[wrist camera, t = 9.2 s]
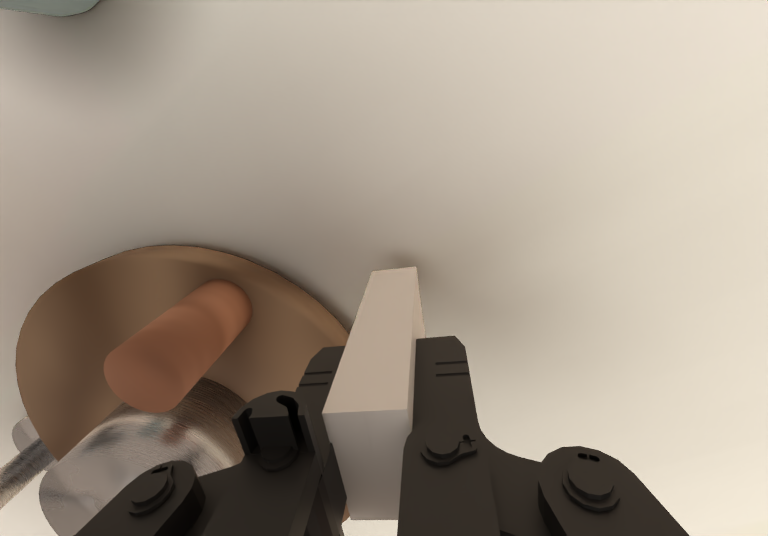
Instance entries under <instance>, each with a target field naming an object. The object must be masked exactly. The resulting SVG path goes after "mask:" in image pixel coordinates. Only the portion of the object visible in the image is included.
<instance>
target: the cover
mask: <svg viewBox="0 0 768 536" xmlns="http://www.w3.org/2000/svg"><path fill="white" fill-rule="evenodd" d="M245 404H247V403H246V402H245V401H244V400H243V399H242V398H241V397H240V396H238V395H237V394H236V393H234V392H233V391H231V390H230V389H228V388H227V387H225V386H223V385H221V384H219V383H217V382H215V381H212V380H210V379H207V378H204V377H201V378H200V379H199V381H198V382H197V383H196V384H195V385H194V386H193V387H192V389H191V390H190V391H189V392H188V393H187V394H186V395H185V397H184V398H183V399H182V400H181V401H180V402H179V403H178V405H177V406H175V407H174V408H173V409H171V410H169V411H166V412H161V413H151V412H145V411H142V410H139V409H136V408H134V407H132V406H130V405H128V404H127V403H125V402H124V401H123V402H122V403H121V404H120V405H119V406H118V407H117V408H116V409H115V410H114V411H113V412H111V413H110V414H109V415H108V416H107V417H106V418H105V419H104V420H103V421H102V422H101V423H100V424H99V425H97V426H96V427H95V428H94V429H93V430H92V431H91V432H90V433H89V434H88V435H87V436H86V437H85V438H83V439H82V440H81V441H80V442H79V443H78V444H77V445H76V446H75V447H74V448H73V449H72V450H71V451H69V452H68V453H67V454H66V455H65V456H64V457H63V458H62V459H61V460H60V461H59V462H58V463H57V464H56V465H54V466H53V467H52V468H51V469H50V470H49V471H48V472H47V473H46V474H45V476H44V477H43V479H42V482H41V484H40V489H39V499H40V504H41V508H42V511H43V513H44V515H45V517H46V519H47V521H48V522H49V524H50V526H51V527H52V528H53V529H54V531H55V532H56V533H57V534H58V535H59V536H74V535H75V534H76V533H77V532H78V531H79V530H80V529H82V528H83V527H84V526H85V525H86V524H87V523H88V522H89V521H90V520H91V519H92V518H93V517H94V516H95V515H96V514H97V513H98V512H99V511H100V510H101V509H102V508H103V507H105V506H106V505H107V504H108V503H109V502H110V501H111V500H112V499H113V498H114V497H115V496H116V495H117V494H118V493H119V492H120V491H121V490H122V489H123V488H124V487H125V486H127V485H128V484H129V483H130V482H132V481H133V480H134V479H135V478H137V477H138V476H139V475H140V474H142V473H144V472H145V471H147V470H149V469H151V468H153V467H155V466H156V465H159V464H162V463H166V462H169V461H186V462H188V463H189V464H191V465H193V467H194V469H195V472H196V474H197V476H198V477H199V476H203V475H206V474H209V473H212V472H215V471H219V470H222V469H225V468H228V467H232V466H234V465H237V464H239V463H241V461H242V459H243V457H244V455H245V454H244V451H243V449H242V446H241V443H240V441H239V438H238V436H237V433H236V431H235V428H234V425H233V423H232V420H231V418H232V417H233V416H234V415H235V414H236V412H237V411H238V410H239V409H240V408H241V407H242V406H244V405H245Z"/></svg>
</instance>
